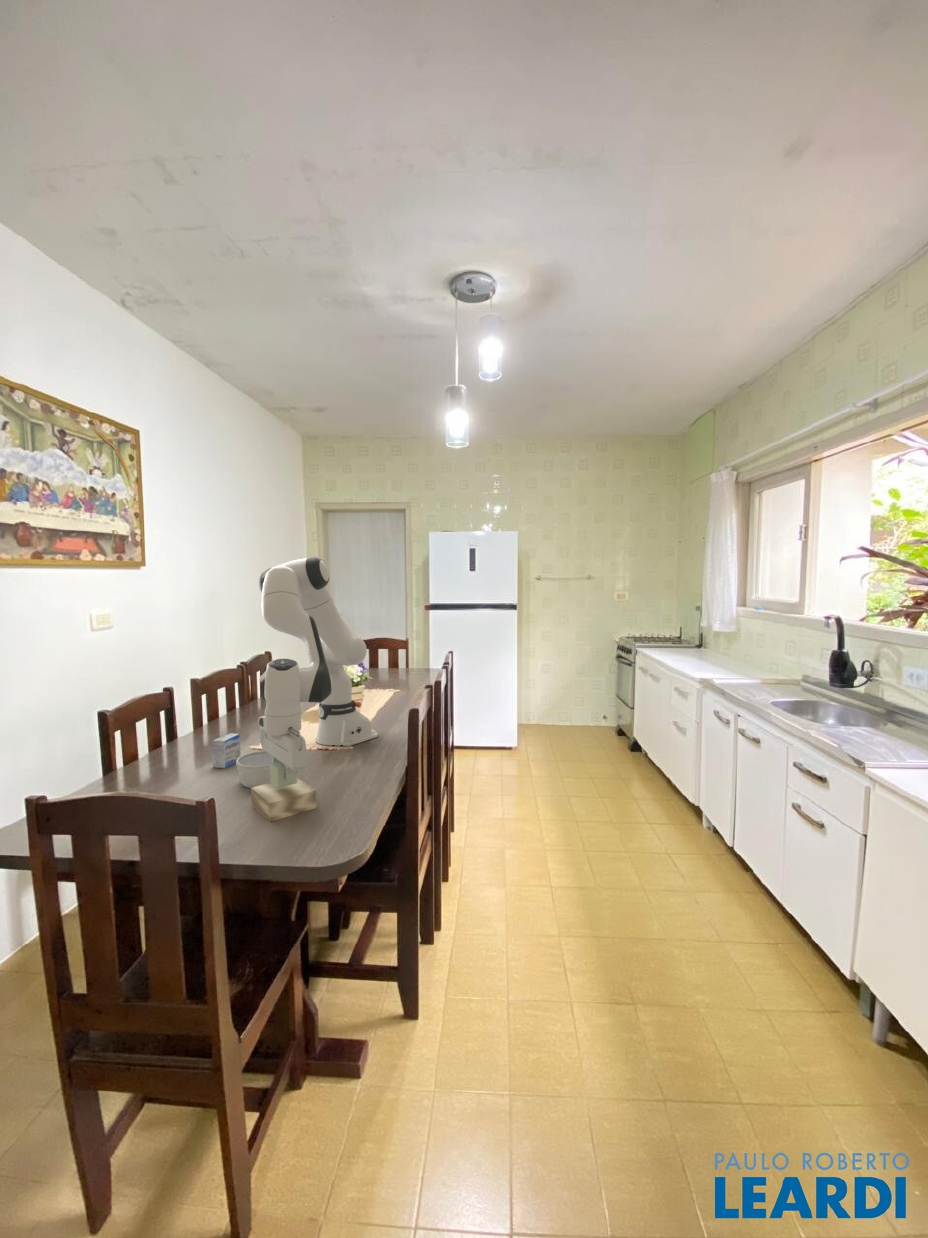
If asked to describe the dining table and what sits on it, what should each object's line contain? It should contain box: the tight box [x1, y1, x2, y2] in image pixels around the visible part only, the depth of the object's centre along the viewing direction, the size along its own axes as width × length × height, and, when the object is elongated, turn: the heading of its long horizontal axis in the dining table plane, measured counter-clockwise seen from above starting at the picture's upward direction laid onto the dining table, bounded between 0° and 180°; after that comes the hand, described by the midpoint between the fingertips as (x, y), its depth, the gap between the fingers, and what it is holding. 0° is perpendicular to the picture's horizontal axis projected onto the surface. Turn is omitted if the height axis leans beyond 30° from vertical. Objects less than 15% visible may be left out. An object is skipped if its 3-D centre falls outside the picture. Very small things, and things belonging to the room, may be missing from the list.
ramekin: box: [235, 749, 273, 789], centre depth 149 cm, size 13×13×7 cm
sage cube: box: [270, 761, 298, 788], centre depth 133 cm, size 5×5×5 cm
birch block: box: [250, 777, 317, 823], centre depth 133 cm, size 12×12×5 cm
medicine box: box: [211, 732, 241, 769], centre depth 162 cm, size 8×4×9 cm, turn 168°
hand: (283, 776), depth 133 cm, fingers open, 5 cm apart
